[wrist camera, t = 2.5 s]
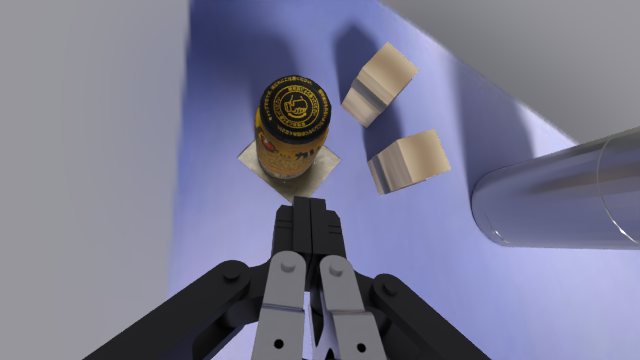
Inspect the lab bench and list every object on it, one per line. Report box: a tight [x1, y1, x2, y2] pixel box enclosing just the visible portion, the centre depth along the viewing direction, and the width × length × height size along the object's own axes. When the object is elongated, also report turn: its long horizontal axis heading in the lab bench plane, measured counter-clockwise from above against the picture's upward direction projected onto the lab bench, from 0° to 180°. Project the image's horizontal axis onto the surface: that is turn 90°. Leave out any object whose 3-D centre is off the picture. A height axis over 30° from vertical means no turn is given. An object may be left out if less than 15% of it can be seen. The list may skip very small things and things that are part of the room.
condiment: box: [238, 75, 340, 203], centre depth 28 cm, size 7×8×12 cm
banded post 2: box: [367, 129, 451, 195], centre depth 31 cm, size 4×4×8 cm
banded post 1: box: [341, 42, 419, 129], centre depth 32 cm, size 4×4×8 cm
